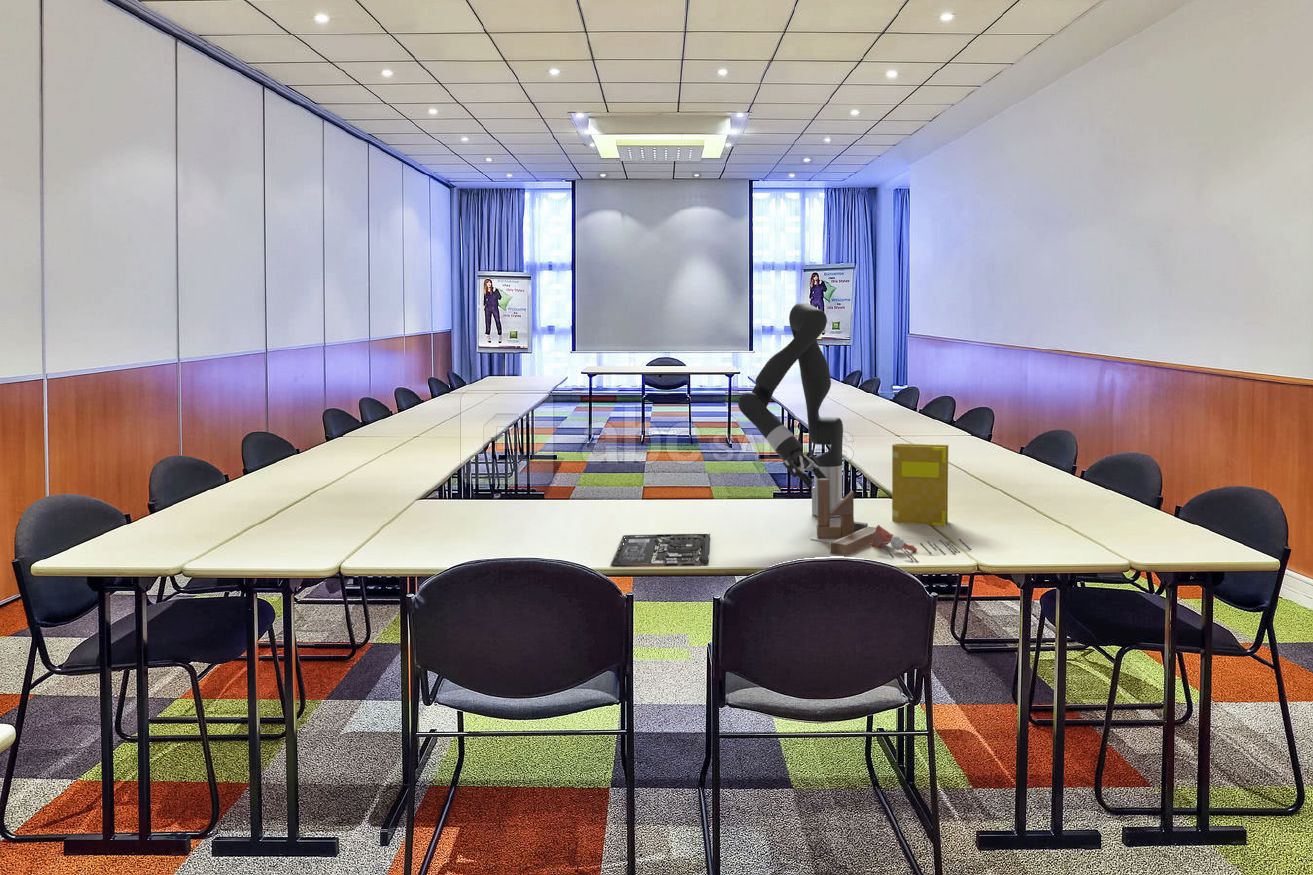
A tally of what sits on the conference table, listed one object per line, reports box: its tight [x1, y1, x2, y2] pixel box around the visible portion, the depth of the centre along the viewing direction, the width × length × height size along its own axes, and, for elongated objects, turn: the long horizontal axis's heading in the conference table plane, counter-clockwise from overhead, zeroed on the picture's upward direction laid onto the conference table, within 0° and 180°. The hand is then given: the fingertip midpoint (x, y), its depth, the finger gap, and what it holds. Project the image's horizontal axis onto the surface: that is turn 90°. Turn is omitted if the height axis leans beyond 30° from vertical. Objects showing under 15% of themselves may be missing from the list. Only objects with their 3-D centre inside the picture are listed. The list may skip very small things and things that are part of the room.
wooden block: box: [816, 478, 855, 539], centre depth 282 cm, size 4×11×18 cm, turn 84°
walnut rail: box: [829, 521, 877, 556], centre depth 275 cm, size 10×24×4 cm, turn 142°
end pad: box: [810, 535, 840, 544], centre depth 281 cm, size 12×8×1 cm, turn 52°
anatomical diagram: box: [870, 524, 972, 564], centre depth 265 cm, size 21×9×25 cm
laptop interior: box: [610, 533, 711, 567], centre depth 275 cm, size 35×28×2 cm
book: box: [891, 443, 949, 527], centre depth 300 cm, size 17×7×25 cm, turn 65°
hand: (817, 482), depth 283 cm, fingers open, 8 cm apart
